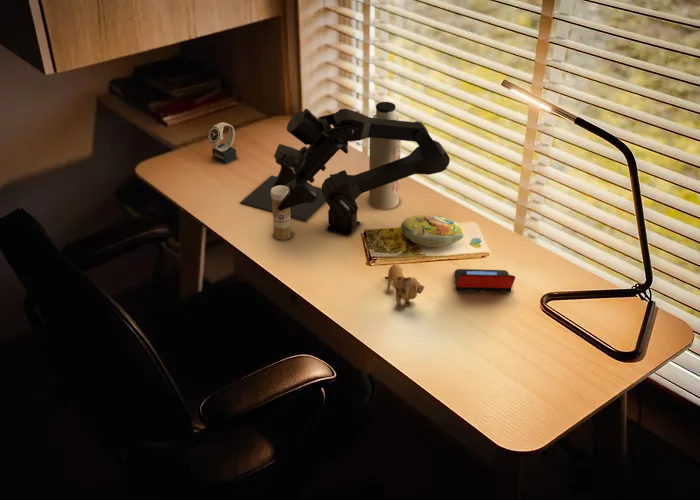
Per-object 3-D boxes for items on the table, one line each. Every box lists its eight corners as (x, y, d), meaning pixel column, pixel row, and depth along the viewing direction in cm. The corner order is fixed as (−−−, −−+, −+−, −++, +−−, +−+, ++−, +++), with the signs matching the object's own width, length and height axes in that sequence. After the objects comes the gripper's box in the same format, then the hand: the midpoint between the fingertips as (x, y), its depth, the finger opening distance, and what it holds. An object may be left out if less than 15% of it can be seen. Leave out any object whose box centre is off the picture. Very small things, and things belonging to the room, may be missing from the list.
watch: (207, 160, 231) (203, 126, 225) (228, 150, 236) (225, 117, 230) (220, 166, 228) (216, 132, 222) (241, 156, 233) (238, 122, 227)
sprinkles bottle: (276, 241, 197) (272, 195, 189) (272, 231, 200) (268, 186, 193) (294, 238, 198) (291, 192, 190) (289, 228, 201) (286, 183, 194)
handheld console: (507, 273, 185) (511, 247, 181) (512, 302, 177) (516, 276, 172) (453, 272, 186) (456, 246, 182) (456, 300, 177) (458, 274, 173)
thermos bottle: (404, 199, 213) (408, 103, 196) (387, 212, 207) (390, 114, 191) (380, 190, 217) (382, 95, 200) (363, 202, 211) (363, 106, 195)
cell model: (405, 214, 202) (461, 203, 196) (413, 242, 204) (469, 232, 198) (393, 228, 193) (451, 217, 187) (402, 257, 195) (460, 247, 189)
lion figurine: (425, 313, 174) (427, 280, 169) (404, 319, 172) (405, 287, 167) (394, 276, 185) (395, 245, 179) (374, 282, 183) (374, 251, 178)
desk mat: (334, 192, 216) (334, 191, 216) (305, 221, 204) (305, 220, 204) (271, 176, 223) (271, 175, 223) (240, 203, 212) (240, 202, 211)
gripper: (286, 118, 191) (245, 163, 196) (300, 154, 176) (255, 202, 181) (319, 143, 197) (279, 187, 202) (335, 180, 182) (291, 226, 187)
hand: (275, 199), depth 193 cm, fingers open, 9 cm apart
